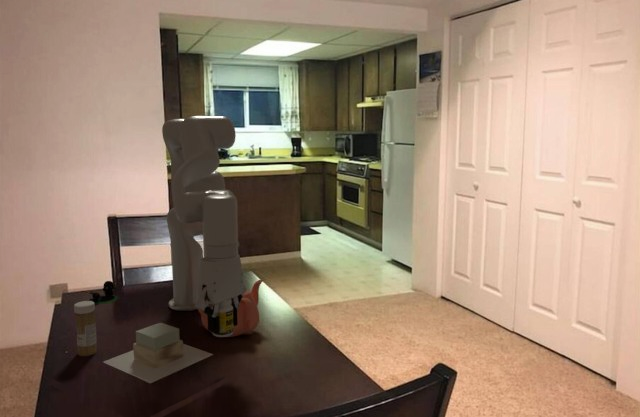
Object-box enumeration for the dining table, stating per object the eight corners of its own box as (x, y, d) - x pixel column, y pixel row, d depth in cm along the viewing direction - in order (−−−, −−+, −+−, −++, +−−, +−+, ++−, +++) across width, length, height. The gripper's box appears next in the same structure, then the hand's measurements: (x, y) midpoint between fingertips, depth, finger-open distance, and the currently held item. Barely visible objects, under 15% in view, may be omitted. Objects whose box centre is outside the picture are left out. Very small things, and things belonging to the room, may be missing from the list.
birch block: (162, 348, 130) (161, 333, 130) (183, 356, 126) (182, 340, 125) (134, 359, 124) (133, 343, 123) (155, 368, 119) (154, 351, 119)
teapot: (204, 323, 150) (203, 277, 148) (263, 321, 152) (263, 275, 150) (197, 345, 134) (195, 295, 132) (263, 343, 136) (262, 293, 134)
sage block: (161, 334, 129) (160, 322, 129) (179, 340, 125) (179, 328, 125) (136, 343, 123) (135, 331, 123) (154, 350, 119) (154, 338, 119)
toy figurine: (79, 303, 169) (78, 285, 168) (102, 294, 178) (101, 277, 177) (104, 306, 166) (103, 289, 165) (126, 297, 175) (125, 280, 174)
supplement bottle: (229, 338, 117) (228, 302, 116) (209, 336, 118) (208, 300, 117) (236, 330, 122) (235, 295, 120) (217, 328, 123) (216, 293, 121)
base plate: (166, 341, 137) (165, 337, 137) (213, 358, 127) (213, 354, 127) (102, 366, 123) (102, 361, 123) (150, 387, 113) (150, 383, 112)
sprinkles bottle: (74, 356, 128) (70, 303, 126) (92, 350, 132) (88, 298, 130) (83, 361, 125) (79, 307, 123) (101, 355, 129) (98, 302, 127)
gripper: (236, 240, 125) (237, 313, 129) (179, 255, 112) (182, 336, 115) (259, 245, 121) (260, 320, 124) (203, 261, 108) (205, 345, 111)
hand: (222, 327), depth 120 cm, fingers closed on supplement bottle, 4 cm apart
